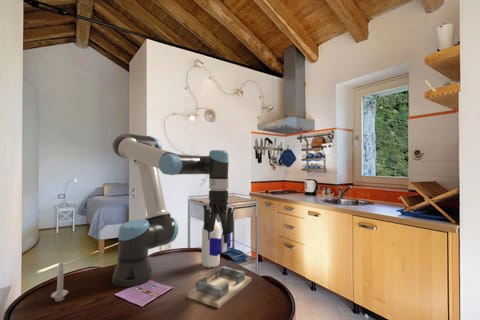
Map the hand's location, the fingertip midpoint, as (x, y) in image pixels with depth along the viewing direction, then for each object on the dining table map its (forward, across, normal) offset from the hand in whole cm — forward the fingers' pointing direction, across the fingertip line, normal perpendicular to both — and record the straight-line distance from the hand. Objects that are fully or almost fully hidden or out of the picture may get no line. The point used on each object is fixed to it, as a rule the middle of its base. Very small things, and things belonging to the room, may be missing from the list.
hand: (217, 249), depth 97 cm
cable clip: (+1, 0, +1) cm, 1 cm away
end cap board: (+15, 0, +2) cm, 15 cm away
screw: (+15, -42, -36) cm, 57 cm away
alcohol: (+15, -18, +18) cm, 30 cm away
